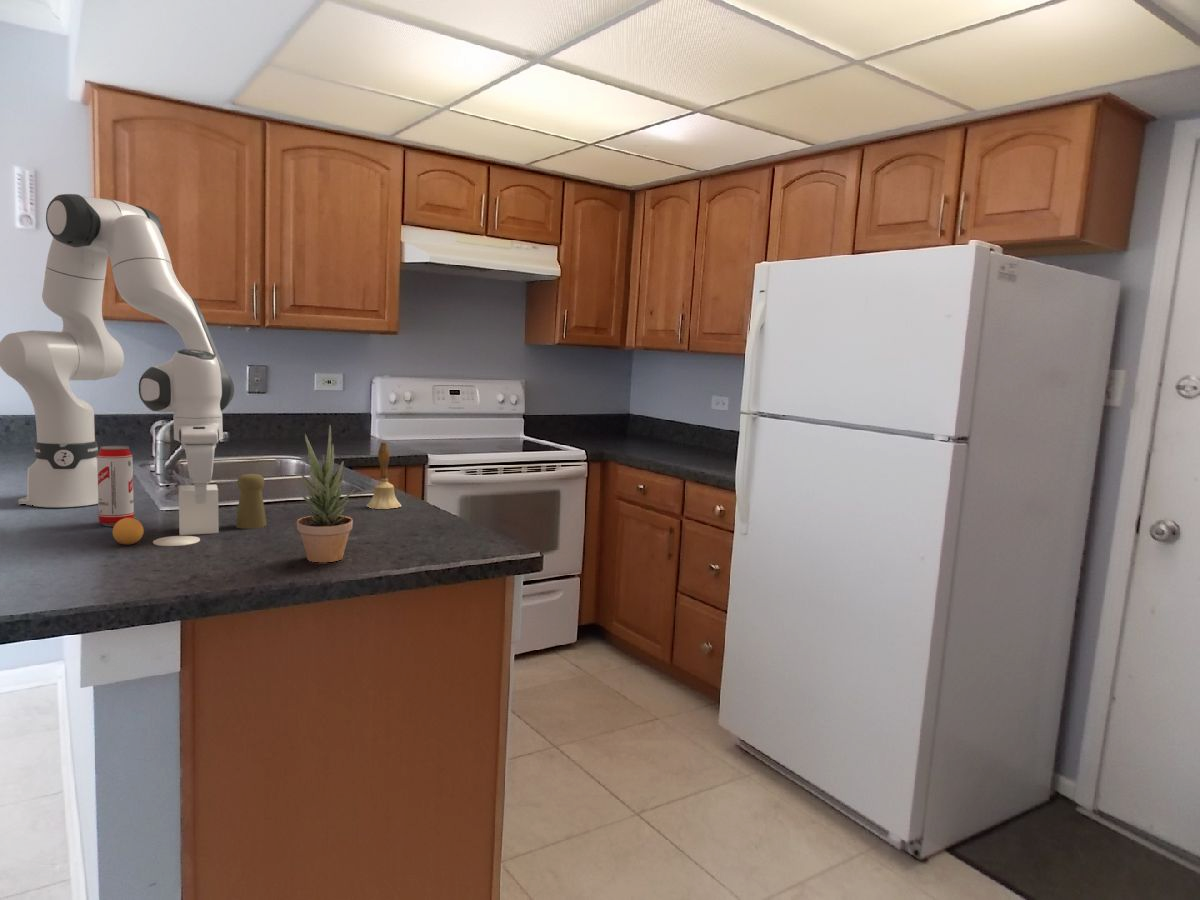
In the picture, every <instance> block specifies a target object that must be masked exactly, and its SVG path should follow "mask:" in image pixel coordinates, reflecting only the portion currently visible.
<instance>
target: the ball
mask: <svg viewBox="0 0 1200 900" xmlns="http://www.w3.org/2000/svg"><path fill="white" fill-rule="evenodd" d="M112 527H113V528H112V536H113V539H114V540H115V541H116V542H118V544H122V545H126V546H127V545H134V544H137V542H139V541H140V540H141V539H142V537H143V535H144V532H145V531H144V526H143V524H142V522H140V521H139V520H138V519H136V518H135V517H134V518H124V519H121V520H119V521H118V522H117V523H116V524H115V525H114V526H112Z"/></svg>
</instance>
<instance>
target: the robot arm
mask: <svg viewBox="0 0 1200 900" xmlns="http://www.w3.org/2000/svg"><path fill="white" fill-rule="evenodd" d="M45 213H46V214H45V222H46V226H47V227H46V228H47V230H48V232H49V233H50V235H51V237H52V239H51V243H50V246H49V250H48V254H47V259H46V264H45V265H46V266H45V271H44V280H43V288H42V291H41V293H42V294H41V298H42V301H43V303H44V306H46V308H48V310H49V311H51V312H52V313H54V315H57V316H58V317H60V318H61V320H62V330H61V331H56V330H55V331H54V330H52V331H51V330H49V331H48V330H32V329H31V330H25V331H24V330H23V331H18V332H17V331H16V332H12V333H8V334H6V335H4V336H3V338H2V339H1V340H0V368H1V370H2V372H4V373H5V374H6V375H7V376H8V377H11V378H12V379H13V380H14V381H16V382H17V383H18V384H19V385H20V386H21V387H22V388H23V389H24V391H25V392H26V393H27V395H28V397H29V399H30V401H31V403H32V407H33V411H34V417H35V418H34V419H35V425H36V441H35V442H34V449H33V450H34V457H35V459H36V460H35V461H34V462H33V463H31V465H30V466H28V467H27V476H26V479H27V480H26V481H27V482H26V483H27V484H26V485H27V487H26V493H27V495H26V496H24V497H22V498H20V499H19V498H18V501H17V504H18V505H20V504H26V505H25V506H32V505H33V506H32V507H39V508H74V507H84V506H85V507H86V506H91V505H98V471H97V455H98V453H99V452H98V451H99V446H98V442H97V440H96V436H95V434H96V431H95V429H96V428H95V411H94V408H93V406H91V403H89V402H87V401H86V400H84V399H82V398H80V397H78V396H76V395H75V393H73V390H72V388H71V386H70V381H98V380H103V379H107V378H112V377H116V375H117V376H118V374H119V373H120V372H121V370H122V368H123V365H124V362H125V353H124V350H123V348H122V346H121V344H120V343H119V341H118V340H117V339H116V338H114V337H113V336H112V335H111V334H110V332H109V331H108V329H107V327H106V324H105V322H104V317H103V299H104V290H105V282H106V277H107V267H108V259H109V260H110V261H109V262H110V266H111V267H110V268H111V271H112V276H113V281H114V284H115V287H116V291H117V292H118V294H119V295H120V297H121V299H122V300H123V301H124V302H125V303H127V304H128V305H129V306H130V307H131V308H134V309H135V310H137V311H139V312H142V313H143V314H145V315H149V316H153V317H154V318H157V319H159V320H160V321H163V322H165V323H166V324H169V326H172V328H174V329H175V331H177V333H178V334H179V335H180V337H181V338H182V341H183V344H184V347H185V348H183V349H179V350H176V351H175V352H174V353H173V356H172V358H171V359H169V360H167V361H166V362H164V363H161V364H159V365H156V366H150V367H149V368H148V369H146V370H145V371H144V372H143V373H142V375H141V377H140V378H139V382H138V395H139V398H140V401H141V402H142V403H143V404H144V405H145V407H146V408H147V409H149V410H150V411H152V412H158V413H165V414H166V413H173V415H172V416H173V417H172V419H173V440H174V441H177V442H179V443H181V444H180V445H181V446H180V448H181V449H183V450H184V451H185V452H184V453H185V458H186V462H187V463H186V465H187V470H188V476H189V481H190V483H191V484H193V485H195V494H196V503H197V504H203V503H205V502H206V488H207V485H208V483H211V482H212V479H213V470H214V461H215V460H214V459H215V452H216V451H215V450H216V448H217V444H218V443H219V442H220V441H223V439H224V431H223V430H224V429H223V426H224V425H223V423H224V422H223V410H225V409H226V408H227V407H228V406H229V404H230V403H231V401H232V400H233V398H234V395H235V384H234V382H233V379H232V377H231V375H230V373H229V372H228V370H227V368H226V367H225V366H224V365H225V364H224V363H223V362H222V360H221V358H220V355H219V352H218V350H217V347H216V345H215V342H214V340H213V337H212V335H211V332H210V329H209V327H208V325H207V323H206V320H205V318H204V315H203V313H202V310H201V308H200V306H199V304H198V303H197V301H196V299H194V297H193V296H191V295H190V294H189V293H188V292H187V291H186V290H185V289H184V288H183V286H182V285H181V283H180V282H179V280H178V278H177V275H176V274H175V271H174V268H173V264H172V260H171V256H170V253H169V250H168V246H167V245H166V242H165V239H164V230H163V224H162V222H161V220H160V218H159V216H158V215H157V214H156V213H155V212H154V211H152V210H150V209H147V208H146V207H142V206H140V205H132V204H129V203H126V202H122V201H119V200H115V199H110V198H105V199H104V198H99V197H93V196H82V195H80V194H75V193H74V194H73V193H64V194H57V195H56V196H54V198H53V199H52V200H51V201H50V202H49V204H48V206H47V208H46V212H45Z"/></svg>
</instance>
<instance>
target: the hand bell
mask: <svg viewBox="0 0 1200 900" xmlns="http://www.w3.org/2000/svg"><path fill="white" fill-rule="evenodd" d="M387 443H388V442H387V441H381V442H380V446H379V450H378V452H377V454H378V455H377V456H378V457H377V458H378V463H379V467H380V481H379V483H377V484H375V486H374V491H373V495H372V497H371V499H370V501H369V502H367V504H366V506H367V507H369V508H375V509H390V508H398V507H402V504H401V502H400V501H398V499H397V496H396V494H395V487H394V485H393V484H392V483H391V482H389V478H388V466H389V462H390V449H389V446H388V444H387ZM367 507H366V508H367ZM369 508H368V509H369ZM398 509H399V508H398Z"/></svg>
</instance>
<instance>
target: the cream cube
mask: <svg viewBox="0 0 1200 900" xmlns="http://www.w3.org/2000/svg"><path fill="white" fill-rule="evenodd" d="M178 517H179V521H178V523H179V524H178V526H179V527H178V528H179V529H178V530H179V531H178V532H179V536H193V535H206V534H207V535H208V534H219V533H220V532H219V531H220V530H219V527H220V526H219V524H220V523H219V521H220V520H219V488H218V484H207V488H206V502H205V503H203V504H197V503H196V494H195V485H194V484H191V485H190V484H189V485H188V484H187V485H183V484H182V485H178Z"/></svg>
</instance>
